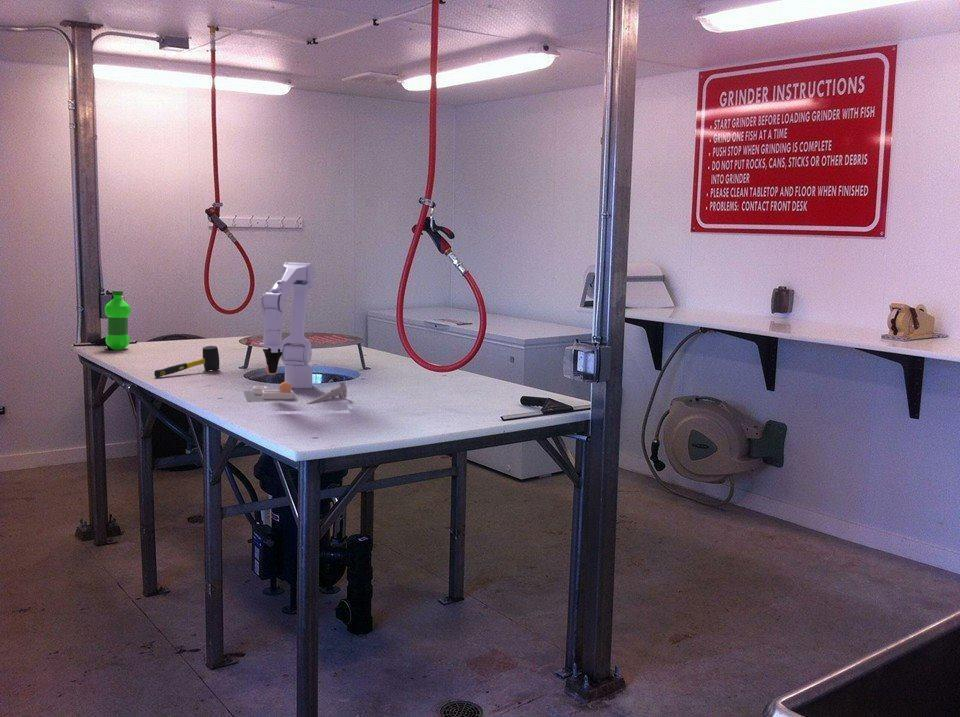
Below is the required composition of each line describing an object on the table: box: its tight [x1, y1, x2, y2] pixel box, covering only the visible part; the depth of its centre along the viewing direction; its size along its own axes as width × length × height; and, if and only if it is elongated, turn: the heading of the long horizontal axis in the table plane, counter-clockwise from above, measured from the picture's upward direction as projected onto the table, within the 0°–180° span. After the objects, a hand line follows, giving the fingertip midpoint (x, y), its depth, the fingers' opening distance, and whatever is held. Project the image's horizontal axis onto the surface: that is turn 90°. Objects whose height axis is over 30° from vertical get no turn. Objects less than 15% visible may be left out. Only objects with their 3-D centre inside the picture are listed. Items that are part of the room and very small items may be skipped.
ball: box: [265, 363, 279, 376], centre depth 284 cm, size 4×4×4 cm
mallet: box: [153, 345, 220, 379], centre depth 328 cm, size 29×6×10 cm, turn 150°
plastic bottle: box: [104, 290, 132, 351], centre depth 379 cm, size 10×10×25 cm
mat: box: [243, 390, 299, 403], centre depth 289 cm, size 16×18×1 cm
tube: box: [252, 385, 268, 394], centre depth 292 cm, size 4×4×2 cm
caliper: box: [306, 381, 348, 405], centre depth 287 cm, size 20×1×6 cm, turn 151°
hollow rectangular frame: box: [262, 389, 295, 399], centre depth 286 cm, size 10×4×2 cm, turn 108°
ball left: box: [278, 381, 293, 393], centre depth 287 cm, size 4×4×4 cm
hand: (271, 371), depth 285 cm, fingers closed on ball, 4 cm apart
